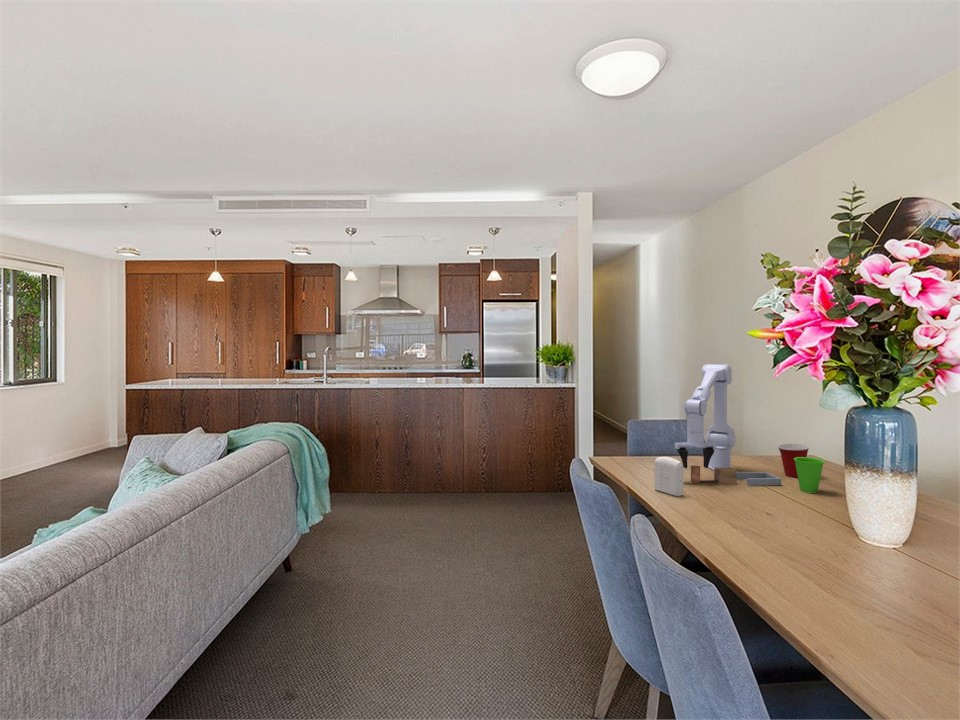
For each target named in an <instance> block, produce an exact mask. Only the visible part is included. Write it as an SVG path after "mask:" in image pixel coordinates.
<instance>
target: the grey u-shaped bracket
mask: <svg viewBox="0 0 960 720" xmlns="http://www.w3.org/2000/svg"><path fill="white" fill-rule="evenodd" d="M737 480H746V486H747V485H748V486H747V487H757V486H756V485H781V486H782V478H780V477H778V476H776V475H774V474H772V473H769V472H768V471H757V472H756V471H754V472H753V471H751V472H750V471H749V472H748V471H742V472H741V471H737Z"/></svg>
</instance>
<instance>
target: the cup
mask: <svg viewBox="0 0 960 720" xmlns="http://www.w3.org/2000/svg"><path fill="white" fill-rule="evenodd" d="M794 460H795V463H796V469H797V475H798V478H797V479H798V485H799V490H800V491H801V492H803V491H804V492H803V493H806V492H809V493H808V494H817V493H818V491H819V489H820V488H819V487H820V481H821V477H822V472H823V467H824V463H826V462H825V460H823V459H820V458H816V457H796V458H794ZM810 492H811V493H810ZM816 492H817V493H816Z"/></svg>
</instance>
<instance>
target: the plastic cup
mask: <svg viewBox="0 0 960 720" xmlns="http://www.w3.org/2000/svg"><path fill="white" fill-rule="evenodd" d="M777 448H778V450H779V453H780V457H781V461H782V467H783V472H784V475H785V477H790V478H795V477H796V478H797V479H798V475H797V469H796V463H795V460H794V458H796V457H807V456H808V452H809V449H810V445H807V444H802V443H780V444H778V445H777Z"/></svg>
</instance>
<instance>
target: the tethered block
mask: <svg viewBox="0 0 960 720" xmlns="http://www.w3.org/2000/svg"><path fill="white" fill-rule="evenodd" d="M737 472H738V471H737V470H736V469H734V468H732V467H731V468H730V467H714V470H713V479H709V480H706V479H705V480H703V479H701V466H700V465H690V483H691V482H692V484H697V483H698V484H700V483H717V482H718V483H717V484H719V485H737V480H738V479H737Z"/></svg>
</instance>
